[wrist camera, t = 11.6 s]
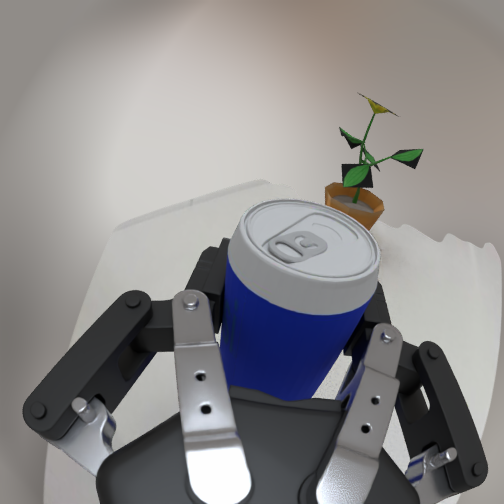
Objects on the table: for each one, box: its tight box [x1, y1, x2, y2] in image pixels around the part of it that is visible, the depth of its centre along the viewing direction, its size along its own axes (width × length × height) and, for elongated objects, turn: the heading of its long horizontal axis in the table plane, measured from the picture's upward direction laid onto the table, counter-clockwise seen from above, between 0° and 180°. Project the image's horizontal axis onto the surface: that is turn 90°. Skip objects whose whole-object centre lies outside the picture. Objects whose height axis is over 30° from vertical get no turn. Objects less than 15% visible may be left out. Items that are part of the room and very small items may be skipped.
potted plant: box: [325, 95, 423, 231], centre depth 51 cm, size 18×19×30 cm
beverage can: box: [220, 199, 380, 401], centre depth 13 cm, size 5×5×15 cm
